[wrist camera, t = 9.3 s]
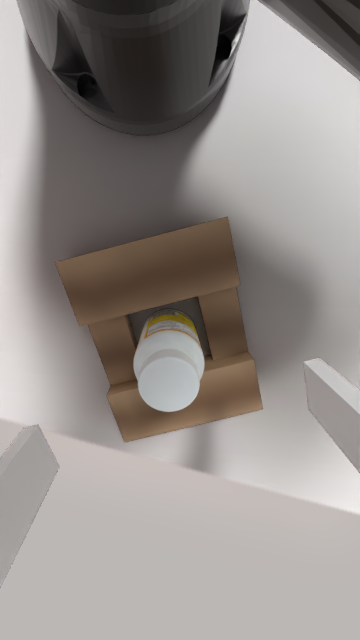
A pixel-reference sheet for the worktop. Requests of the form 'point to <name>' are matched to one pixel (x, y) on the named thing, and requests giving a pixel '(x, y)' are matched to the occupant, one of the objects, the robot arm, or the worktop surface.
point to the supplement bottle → (169, 361)
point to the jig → (156, 290)
